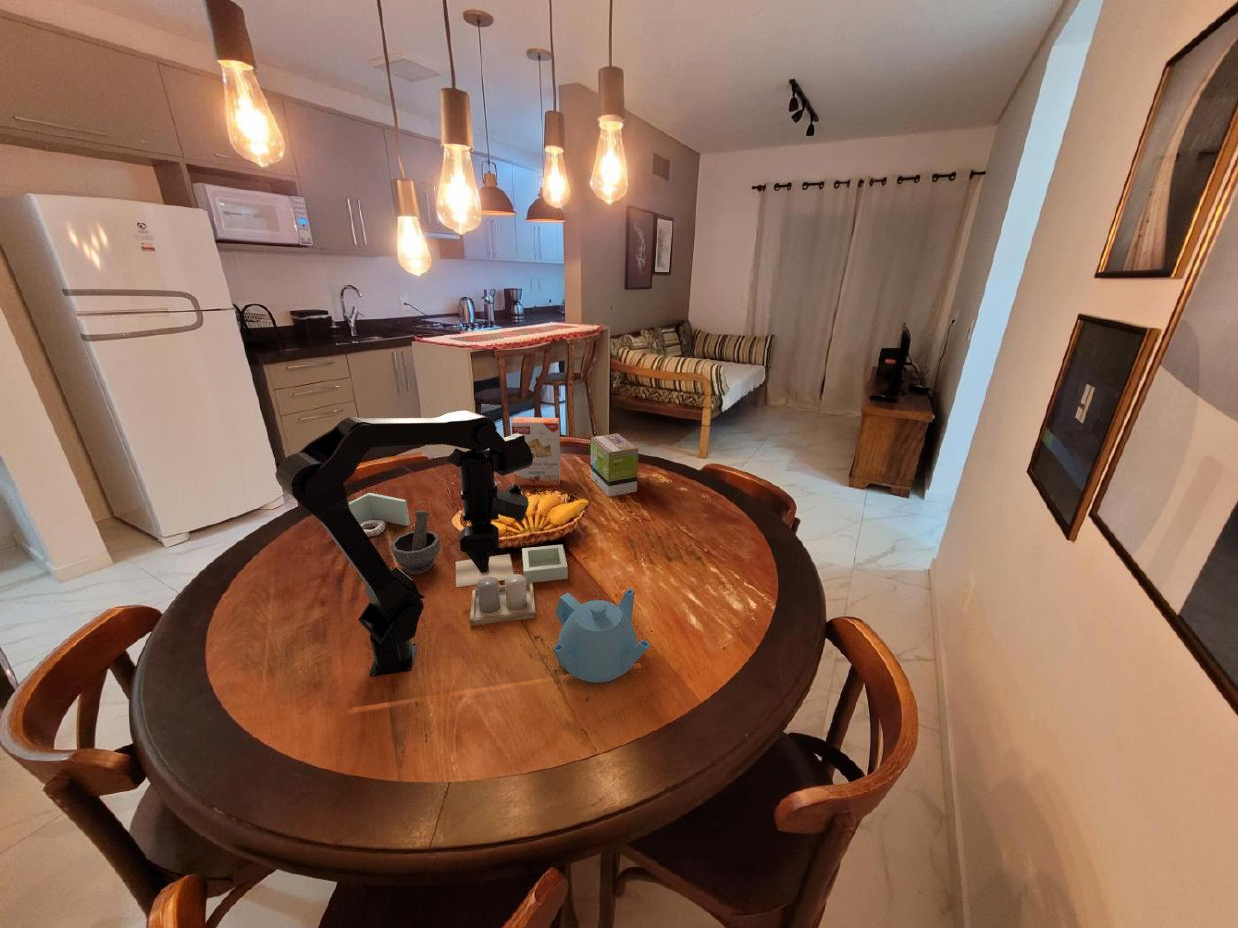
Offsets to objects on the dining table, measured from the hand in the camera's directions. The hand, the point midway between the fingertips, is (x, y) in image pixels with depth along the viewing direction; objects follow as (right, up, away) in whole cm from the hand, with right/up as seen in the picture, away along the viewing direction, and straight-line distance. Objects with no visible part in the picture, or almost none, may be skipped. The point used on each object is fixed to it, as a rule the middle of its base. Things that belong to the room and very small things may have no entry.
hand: (484, 558), depth 90 cm
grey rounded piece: (0, -10, +4) cm, 11 cm away
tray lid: (-4, -6, +16) cm, 17 cm away
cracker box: (0, +12, +62) cm, 63 cm away
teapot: (+22, -16, -7) cm, 28 cm away
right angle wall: (-37, 0, +32) cm, 49 cm away
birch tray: (+2, -11, +5) cm, 12 cm away
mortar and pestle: (-19, -5, +17) cm, 26 cm away
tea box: (+23, +11, +61) cm, 66 cm away
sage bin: (+9, -6, +17) cm, 20 cm away
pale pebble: (+5, -10, +5) cm, 12 cm away
